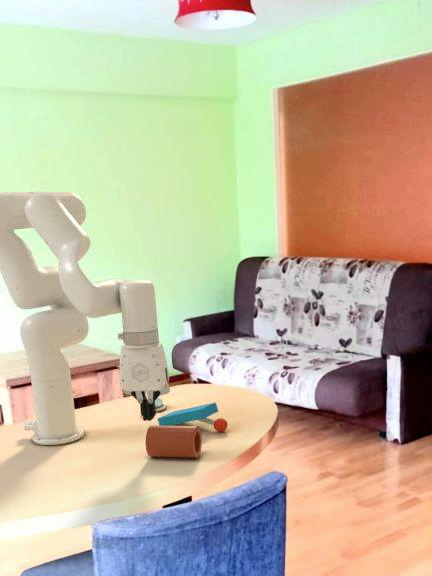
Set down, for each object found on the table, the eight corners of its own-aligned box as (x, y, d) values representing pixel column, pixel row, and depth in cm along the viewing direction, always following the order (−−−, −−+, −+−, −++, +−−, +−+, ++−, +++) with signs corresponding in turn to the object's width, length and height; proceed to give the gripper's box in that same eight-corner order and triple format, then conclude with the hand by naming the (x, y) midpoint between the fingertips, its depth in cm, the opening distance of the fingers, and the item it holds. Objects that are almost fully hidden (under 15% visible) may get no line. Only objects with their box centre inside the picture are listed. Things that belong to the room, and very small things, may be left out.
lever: (165, 444, 188) (220, 434, 177) (157, 418, 187) (212, 407, 177) (180, 436, 194) (235, 426, 183) (173, 411, 193) (227, 399, 182)
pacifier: (170, 406, 207) (150, 405, 209) (169, 384, 205) (149, 383, 207) (160, 413, 200) (140, 412, 202) (159, 391, 198) (138, 390, 200)
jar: (144, 431, 162) (192, 432, 159) (154, 421, 168) (200, 422, 166) (146, 460, 164) (194, 462, 161) (156, 450, 170) (202, 451, 168)
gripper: (102, 342, 158) (111, 423, 163) (169, 341, 154) (175, 424, 159) (115, 335, 165) (123, 414, 170) (179, 334, 161) (185, 414, 166)
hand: (148, 418), depth 165 cm, fingers closed
